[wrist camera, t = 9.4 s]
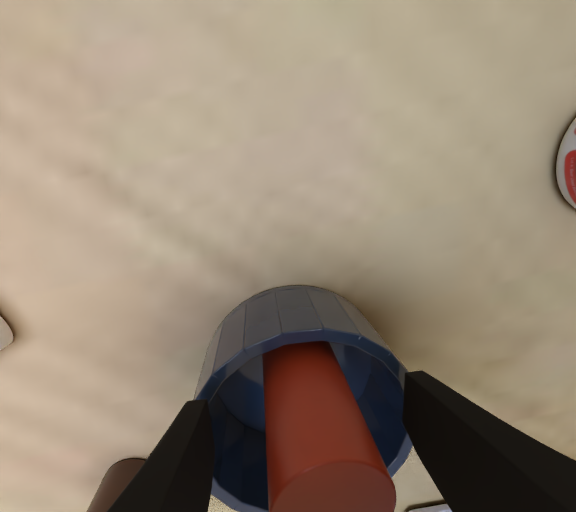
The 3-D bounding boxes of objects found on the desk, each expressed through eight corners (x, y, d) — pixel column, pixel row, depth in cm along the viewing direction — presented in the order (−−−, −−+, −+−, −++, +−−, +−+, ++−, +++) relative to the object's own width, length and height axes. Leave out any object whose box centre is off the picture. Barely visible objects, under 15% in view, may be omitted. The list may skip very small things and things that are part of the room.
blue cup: (374, 422, 16) (413, 501, 12) (217, 445, 15) (204, 538, 11) (377, 276, 14) (427, 316, 10) (193, 294, 13) (166, 345, 9)
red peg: (324, 360, 14) (394, 545, 7) (264, 368, 14) (274, 568, 7) (322, 305, 13) (399, 450, 6) (259, 312, 13) (263, 472, 6)
